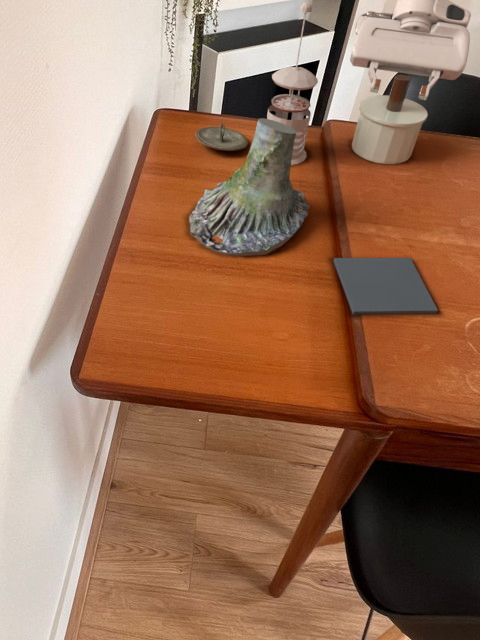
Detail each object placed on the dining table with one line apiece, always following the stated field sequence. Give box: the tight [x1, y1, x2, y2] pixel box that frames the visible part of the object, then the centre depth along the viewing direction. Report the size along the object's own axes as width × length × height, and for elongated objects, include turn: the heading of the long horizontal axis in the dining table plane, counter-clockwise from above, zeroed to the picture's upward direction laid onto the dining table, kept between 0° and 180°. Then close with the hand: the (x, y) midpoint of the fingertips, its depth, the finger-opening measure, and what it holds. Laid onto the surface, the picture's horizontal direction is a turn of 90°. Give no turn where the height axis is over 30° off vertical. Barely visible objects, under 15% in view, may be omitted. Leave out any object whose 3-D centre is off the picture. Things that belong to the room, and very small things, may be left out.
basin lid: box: [358, 74, 429, 127], centre depth 98 cm, size 13×13×7 cm
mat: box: [333, 257, 439, 315], centre depth 77 cm, size 12×12×1 cm
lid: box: [194, 121, 249, 152], centre depth 102 cm, size 11×10×5 cm
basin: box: [351, 111, 423, 165], centre depth 103 cm, size 12×12×8 cm
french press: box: [266, 1, 319, 166], centre depth 94 cm, size 10×12×25 cm
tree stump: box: [188, 117, 312, 257], centre depth 83 cm, size 18×20×18 cm
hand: (398, 94), depth 97 cm, fingers open, 7 cm apart
